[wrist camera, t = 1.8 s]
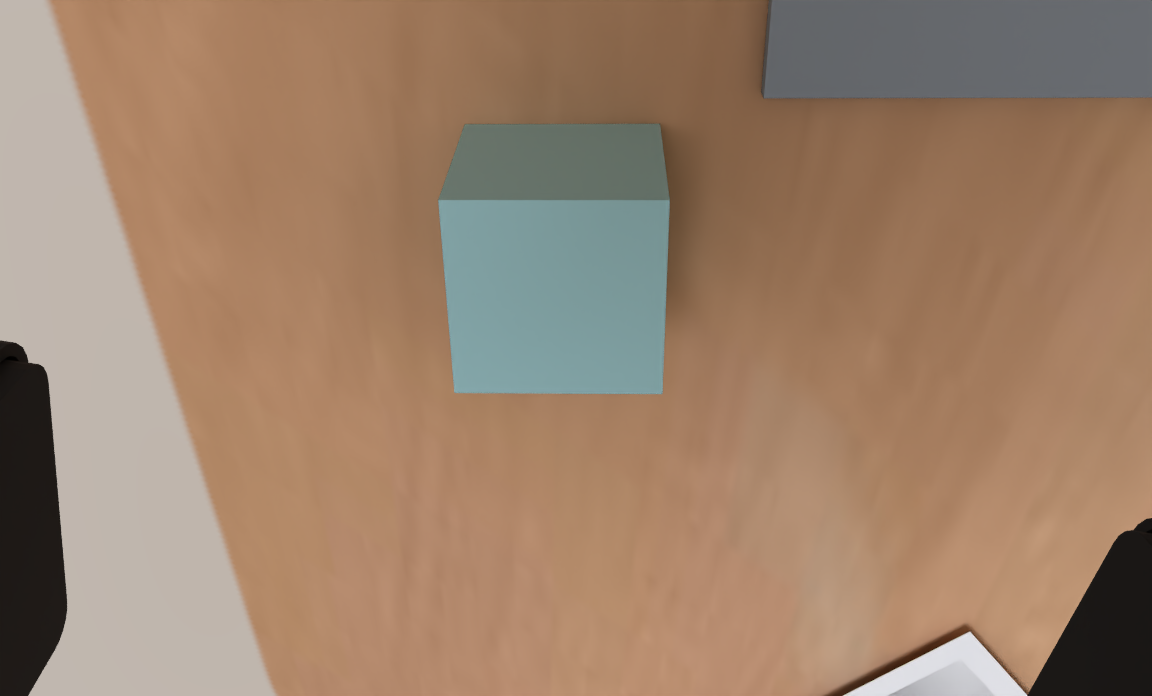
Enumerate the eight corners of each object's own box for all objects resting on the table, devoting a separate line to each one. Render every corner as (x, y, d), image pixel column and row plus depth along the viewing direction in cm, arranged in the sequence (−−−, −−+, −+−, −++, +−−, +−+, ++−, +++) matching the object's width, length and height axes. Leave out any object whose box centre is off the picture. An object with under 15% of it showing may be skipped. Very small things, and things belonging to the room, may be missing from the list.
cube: (659, 122, 32) (669, 200, 27) (654, 295, 35) (662, 393, 30) (465, 123, 32) (438, 200, 27) (476, 294, 35) (454, 392, 30)
